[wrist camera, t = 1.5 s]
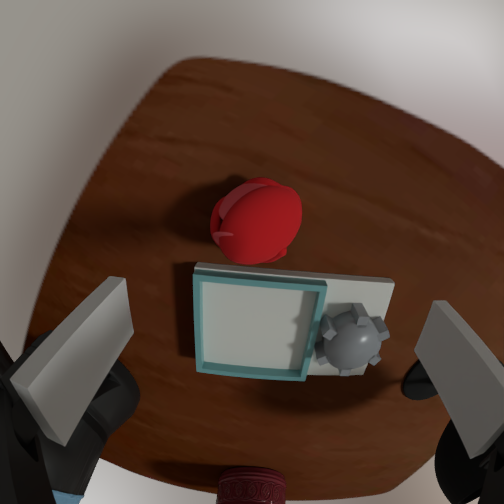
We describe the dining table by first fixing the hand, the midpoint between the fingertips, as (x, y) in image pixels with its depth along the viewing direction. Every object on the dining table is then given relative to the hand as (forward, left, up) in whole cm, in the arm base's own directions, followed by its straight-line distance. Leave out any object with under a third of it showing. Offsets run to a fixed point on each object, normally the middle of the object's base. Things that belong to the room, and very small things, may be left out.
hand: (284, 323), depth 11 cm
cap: (-1, +1, -15) cm, 15 cm away
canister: (+2, -49, -15) cm, 52 cm away
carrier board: (+3, -10, -15) cm, 18 cm away
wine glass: (+25, -18, -15) cm, 34 cm away
